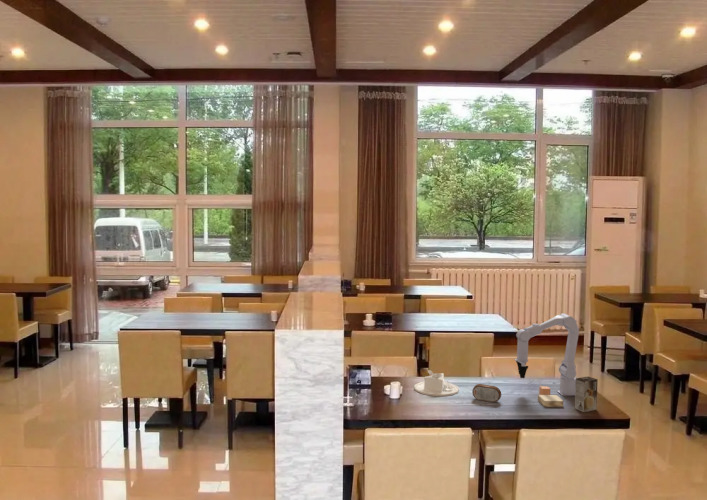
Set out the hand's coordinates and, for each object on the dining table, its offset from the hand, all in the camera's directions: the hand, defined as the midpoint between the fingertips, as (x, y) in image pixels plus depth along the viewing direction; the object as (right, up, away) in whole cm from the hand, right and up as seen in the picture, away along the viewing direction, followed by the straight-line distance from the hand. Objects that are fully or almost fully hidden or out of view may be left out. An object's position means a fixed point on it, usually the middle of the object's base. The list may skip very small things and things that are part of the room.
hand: (521, 376), depth 354 cm
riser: (+11, -12, -15) cm, 22 cm away
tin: (-22, -11, -12) cm, 27 cm away
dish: (-46, -9, +7) cm, 47 cm away
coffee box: (+27, -13, -23) cm, 37 cm away
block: (+12, -11, -3) cm, 16 cm away
